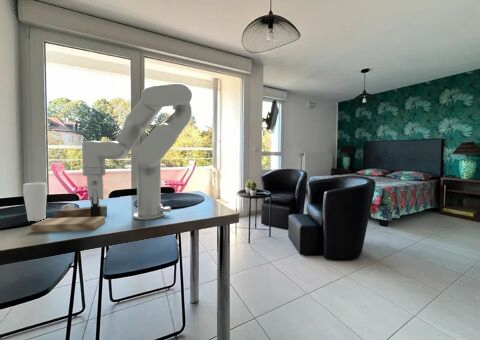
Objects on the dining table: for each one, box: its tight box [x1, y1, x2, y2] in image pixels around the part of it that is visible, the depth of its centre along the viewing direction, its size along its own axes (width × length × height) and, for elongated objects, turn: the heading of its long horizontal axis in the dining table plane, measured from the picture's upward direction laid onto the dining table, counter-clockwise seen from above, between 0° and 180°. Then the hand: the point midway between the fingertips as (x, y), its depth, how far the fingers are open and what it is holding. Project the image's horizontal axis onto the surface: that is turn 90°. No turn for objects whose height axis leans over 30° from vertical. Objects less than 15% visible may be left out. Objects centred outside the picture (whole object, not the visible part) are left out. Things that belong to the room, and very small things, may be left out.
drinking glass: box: [22, 181, 48, 222], centre depth 85 cm, size 7×7×15 cm
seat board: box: [30, 216, 106, 233], centre depth 79 cm, size 20×9×2 cm, turn 100°
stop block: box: [61, 202, 76, 210], centre depth 95 cm, size 2×5×4 cm, turn 10°
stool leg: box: [53, 204, 108, 218], centre depth 88 cm, size 18×3×4 cm, turn 125°
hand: (95, 215), depth 87 cm, fingers closed
